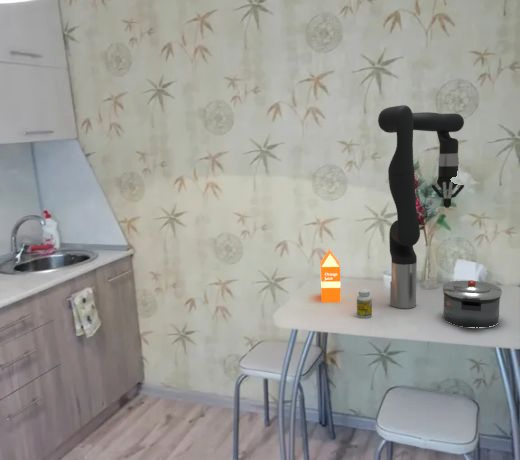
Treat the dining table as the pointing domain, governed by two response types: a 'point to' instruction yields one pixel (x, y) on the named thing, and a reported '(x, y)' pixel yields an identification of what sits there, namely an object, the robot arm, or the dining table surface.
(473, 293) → the cooker lid
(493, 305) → the cooker pot
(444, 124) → the robot arm
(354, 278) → the dining table surface
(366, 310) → the supplement bottle
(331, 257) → the orange juice
